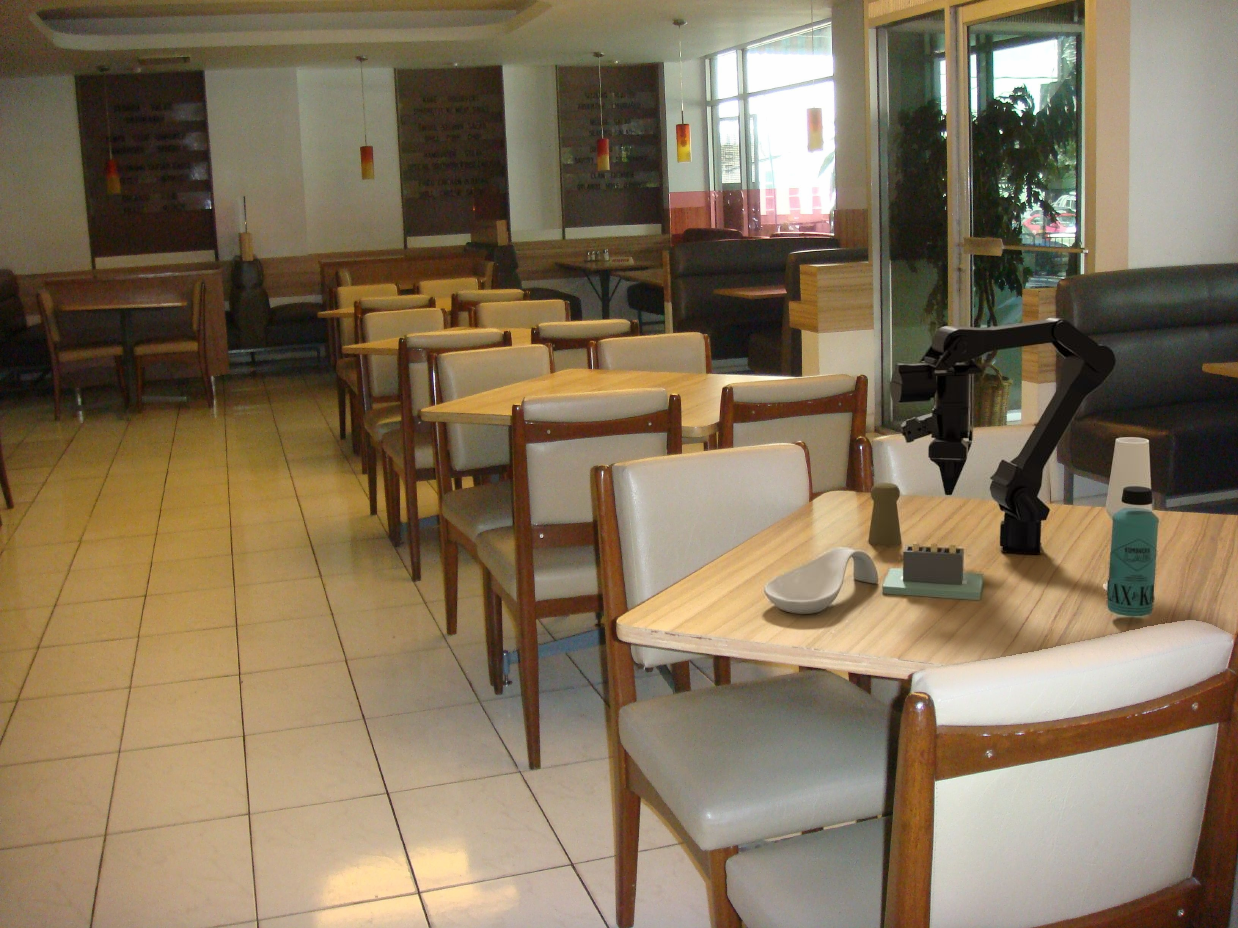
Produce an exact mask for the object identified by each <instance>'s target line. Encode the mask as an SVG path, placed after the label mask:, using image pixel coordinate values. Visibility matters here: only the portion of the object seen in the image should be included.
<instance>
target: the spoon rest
mask: <svg viewBox="0 0 1238 928" xmlns="http://www.w3.org/2000/svg"><path fill="white" fill-rule="evenodd" d="M850 558H852V560H853V574H852V575H853V579H854V580H856V581H859V582H863V583H864V582H865V583H868V584H873V585H874V584H878V583H879V575H878V570H877V567H876V564H875V562H874V561H873V559H872V557H871V555H869V554H868V553H867V552H865V551H863V550H862V549H861V550H860V549H852V548H851V547H847V546H839V547H835V548H832V549H830V550H828V551H826V552H824V553H823V554H821V555H819V556H817V557H815V558H813V559H811V560H810V561H806V563H803V564H802V565H799V566H797V567H795V568H794V569H791V570H789V571H787V572H784V573H783V574H780V575H777V576H776V577H773V578H772V579H770V580H769V581H768V582H767V583H766V584H765V585H764V587H763V592H764V594H765V596H766V598H767V599H768V600H769V601H770V603H771V604H772V605H774V606H775V607H777V608H778V609H780V610H782V611H783V612H788V613H792V614H796V615H810V614H811V615H812V614H816V613H821V612H822V611H824V610H825V609H826V608H827V607H830V605H832V604H833V602H834V601H835V600H836V598H837V597H838V595H839V593H840V592H841V590H842V588H843V587H842V586H843V583H844V580H845V574H846V569H847V565H848V563H849V561H850Z"/></svg>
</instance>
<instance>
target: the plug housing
mask: <svg viewBox="0 0 1238 928" xmlns="http://www.w3.org/2000/svg"><path fill="white" fill-rule="evenodd" d="M964 551H965V549H964V548H963V547H962V548H959V547H956V553H949V547H944V546H941V547H940V546H937V552H931V546H923V545H921V546H920V545H919V551H912V545H909V544H908V545H905V546H904V548H903V551H902V553H903V554H902V569H903V581H909V582H925V583H940V584H955V585H962V581H963V573H964V565H965V561H964V560H965V559H964V557H965V556H964V555H965V554H964V553H965V552H964Z"/></svg>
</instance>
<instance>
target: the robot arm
mask: <svg viewBox="0 0 1238 928" xmlns="http://www.w3.org/2000/svg"><path fill="white" fill-rule="evenodd" d="M1043 344H1051V345H1052V347H1053V348H1054V349H1055V350H1056V352H1057V353H1058V354H1060V355H1061V356H1062V357H1063V358H1064V360H1063V363H1062V366H1061V369H1060V378H1059V379H1060V380H1059V385H1058V386H1057V389H1056V391H1055V392H1054V394H1053V396H1052V397H1051V399H1050V401H1048V402H1049V403H1048V404H1047V406H1046V408H1045V410H1044V411H1043V413H1042V414H1041V416H1040V417H1039V420H1038V422H1037V424H1036V425H1035V427H1034V428H1033V430H1032V432H1030V434H1029V437H1028V438H1027V440H1026V442H1025V443H1024V445H1023V447H1022V448H1021V450H1020V452H1019V453H1018V455H1017V456H1015V457H1014V458H1013V459H1012V460H1010V461H1007V460H1006V459H1004V458H1003V459H1001V460H1000V462H999V463H998V467H997V468H996V470H995V472H994V473H993V474H992V475H991V476H990V477H989V479H990V480H991V482H990V485H989V491H990V496H991V498H992V499H993V501H994V502H996V503H997V505H998V507H999V510H1000V511H1001V512H1004V515H1003V520H1001V521H1000V524H999V525H1000V526H999V528H1000V529H999V546H1000V547H1001V552H1002V553H1010V554H1012V553H1013V554H1026V555H1029V554H1030V555H1042V542H1041V541H1042V521H1043V522H1044V521H1047V519H1048V516H1049V514H1050V511H1051V509H1050V508H1049V507H1048V505H1047V504H1046V503H1044V502H1043V501H1042V500H1041V499H1040V498H1039V497H1038V496H1039V493H1040V491H1041V490H1042V486H1043V477H1044V476H1043V475H1044V469H1045V467H1046V465H1047V463H1048V462H1049V460H1050V458H1051V456H1052V454H1053V453H1054V451H1055V449H1056V448H1057V447H1058V444H1059V443H1060V441H1061V440H1062V437H1063V436H1064V435H1065V432H1066V431H1067V429H1068V428H1069V426H1070V424H1071V422H1072V421H1073V419H1074V418H1075V416H1076V414H1077V413H1078V411H1079V410H1080V407H1081V406H1082V404H1083V402H1084V401H1085V399H1086V398H1087V397H1088V396H1089V395H1090V394H1091V393H1093V392H1094V391H1095V390H1097V389H1098V388H1100V387H1101V386H1102V385H1103V384H1104V383H1105V381H1106V380H1107V379H1108V378H1109V376H1110V375H1111V374H1112V372H1114V370H1115V367H1116V365H1117V360H1116V355H1115V353H1114V351H1113V350H1112V349H1111V347H1109V346H1107V345H1103V344H1100V343H1099V344H1098V343H1097V341H1095V340H1094V339H1093V338H1091V337H1089V336H1088V335H1086V334H1085V333H1084V332H1082V331H1081V330H1080V329H1078V328H1076V327H1075V326H1074V325H1073V324H1072V323H1071V322H1070V321H1069V320H1067V319H1064V318H1059V317H1049V318H1046V319H1041V320H1033V321H1027V322H1019V323H1011V324H1005V325H1004V324H1003V325H997V326H991V327H990V326H989V327H975V326H974V327H971V326H959V325H958V326H956V325H945V326H942V327H939V328H937V331H936V332H935V333H934V335H933V337H932V338H931V344H930V346H929V347H928V348H927V350H926V351H925V352H924V354H923V356H922V357H921V358H920V360H919V361H918V363H901V362H900V363H895V364H894V371H893V373H892V375H891V378H890V379H891V380H890V381H889V391H890V392H889V393H890V397H891V401H892V402H893V404H895V405H896V404H897V405H899V404H916V403H927V402H931V401H930V400H931V399H932V398H934V400H935V401H934V406H933V408H932V409H931V413H928V414H923V415H921V416H917V417H916V416H913V417H911V418H910V419H909V418H907V419H906V421H903V422H902V424H900V429H901V434H902V436H903V437H904V439H905V443H907V444H909V443H912V442H914V441H916V440H918V439H921V438H924V437H927V436H931V439H933V440H932V441H930V442H929V445H928V449H927V450H928V452H927V453H928V458H929V460H930V461H931V462H933V463H934V464H935V465H936V466H937V467H938V468H939V473H940V478H941V483H942V486H943V487H942V488H943V491H944V495H946V496H952V495H953V493H954V491H955V488H956V486H957V483H958V481H959V479H960V477H961V474H962V471H963V469H964V467H965V465H966V463H967V460H968V456H969V455H968V454H969V451H970V449H971V447H972V444H973V440H974V428H973V426H972V425H971V424H970V411H971V403H970V402H971V401H970V400H971V399H970V398H971V396H970V395H971V393H970V392H971V375H980V374H982V373H983V372H984V370H983V369H982V368H981V367H980V366H979V365H977V364H976V362H975V359H978V358H981V357H982V356H985V355H986V354H988V353H991V352H994V351H1000V350H1007V349H1015V348H1022V347H1029V346H1038V345H1043ZM965 439H968V440H965Z"/></svg>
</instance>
